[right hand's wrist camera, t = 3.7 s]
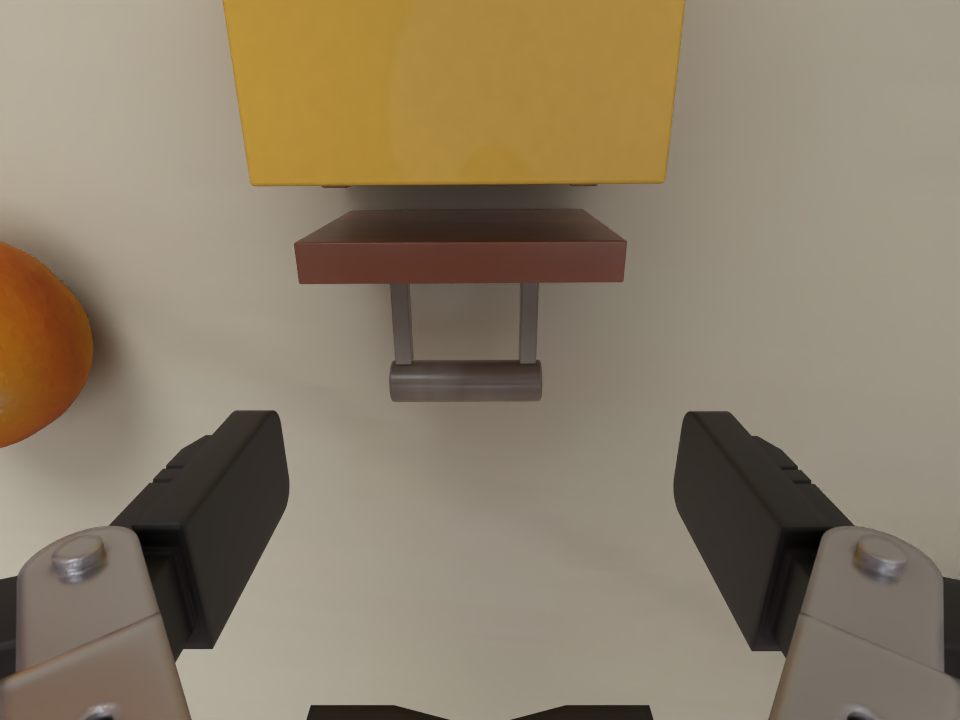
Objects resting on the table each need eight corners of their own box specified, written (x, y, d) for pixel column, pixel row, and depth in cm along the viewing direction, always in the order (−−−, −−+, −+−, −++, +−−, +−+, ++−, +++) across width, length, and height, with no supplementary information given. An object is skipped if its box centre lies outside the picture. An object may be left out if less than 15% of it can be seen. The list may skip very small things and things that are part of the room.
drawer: (574, 358, 25) (609, 442, 18) (363, 359, 25) (319, 443, 18) (622, -442, 16) (728, -879, 9) (292, -438, 16) (149, -867, 9)
